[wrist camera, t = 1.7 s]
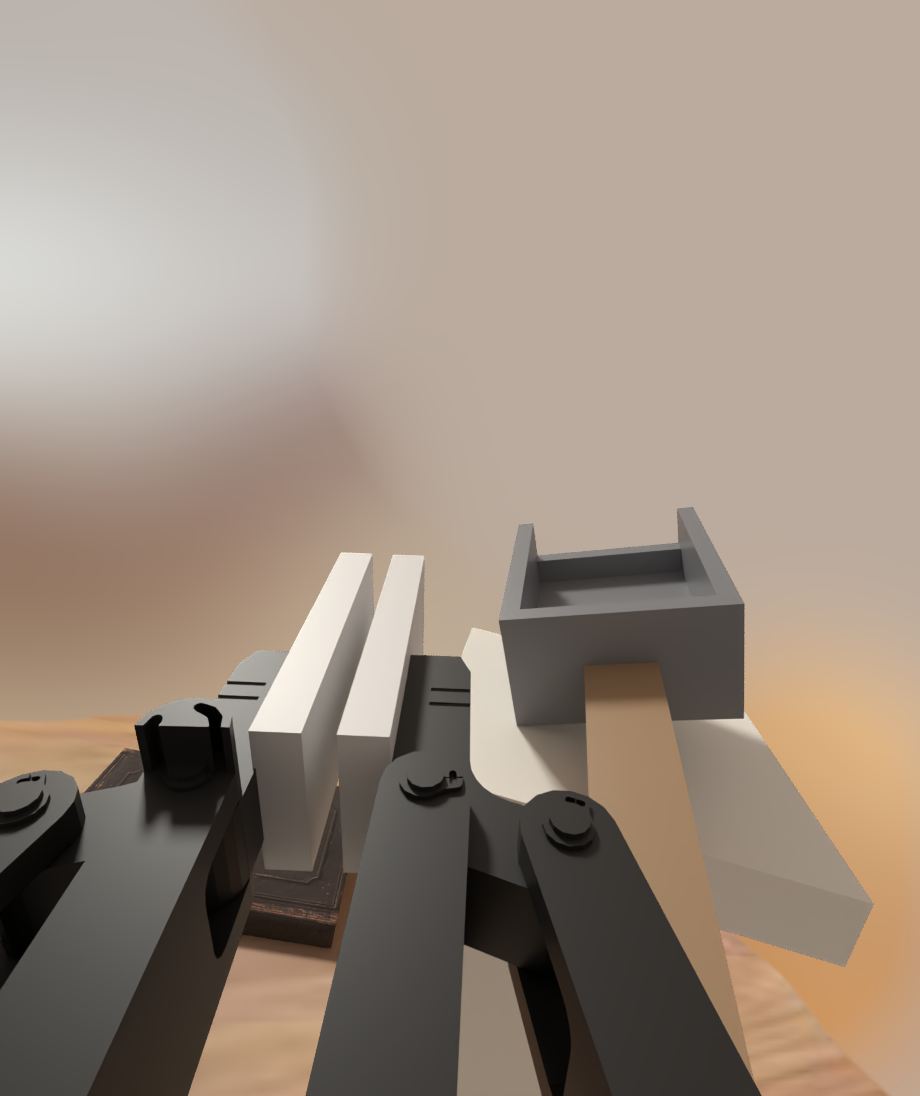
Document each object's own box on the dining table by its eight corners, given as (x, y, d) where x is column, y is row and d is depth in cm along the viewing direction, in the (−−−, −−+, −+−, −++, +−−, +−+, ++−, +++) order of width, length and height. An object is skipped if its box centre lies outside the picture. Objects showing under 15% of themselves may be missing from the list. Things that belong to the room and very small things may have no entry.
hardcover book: (122, 768, 58) (125, 747, 58) (359, 810, 60) (364, 790, 59) (4, 903, 43) (6, 876, 42) (329, 955, 44) (334, 929, 44)
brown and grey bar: (1111, 1654, 6) (1235, 1526, 4) (425, 1479, 7) (347, 1342, 6) (695, 595, 26) (692, 506, 24) (531, 607, 27) (518, 524, 26)
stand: (567, 1575, 22) (874, 903, 15) (259, 1450, 23) (417, 771, 16) (561, 1178, 34) (734, 696, 27) (356, 1107, 35) (472, 627, 28)
